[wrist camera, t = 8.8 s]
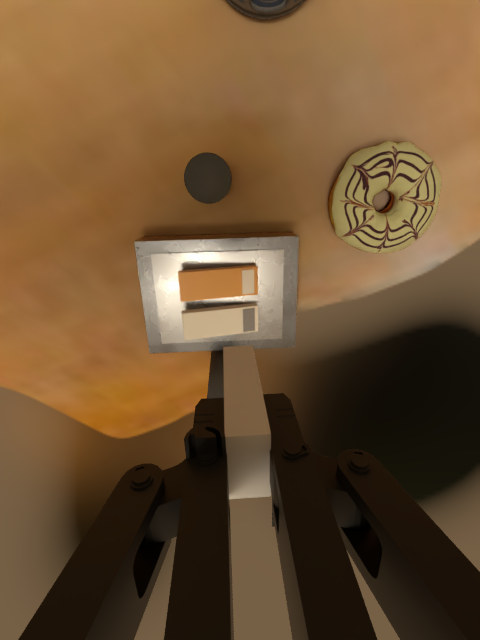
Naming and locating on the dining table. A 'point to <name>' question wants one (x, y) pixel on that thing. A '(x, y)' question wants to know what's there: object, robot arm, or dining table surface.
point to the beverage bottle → (265, 7)
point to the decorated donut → (404, 187)
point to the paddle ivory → (220, 321)
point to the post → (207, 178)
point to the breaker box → (213, 252)
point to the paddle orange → (218, 282)
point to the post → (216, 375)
